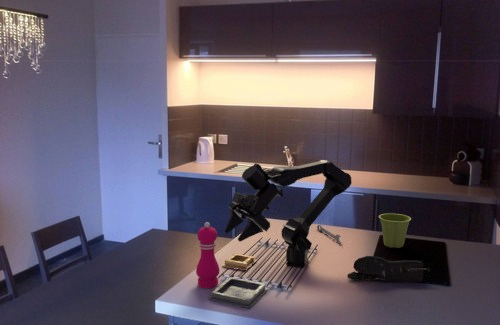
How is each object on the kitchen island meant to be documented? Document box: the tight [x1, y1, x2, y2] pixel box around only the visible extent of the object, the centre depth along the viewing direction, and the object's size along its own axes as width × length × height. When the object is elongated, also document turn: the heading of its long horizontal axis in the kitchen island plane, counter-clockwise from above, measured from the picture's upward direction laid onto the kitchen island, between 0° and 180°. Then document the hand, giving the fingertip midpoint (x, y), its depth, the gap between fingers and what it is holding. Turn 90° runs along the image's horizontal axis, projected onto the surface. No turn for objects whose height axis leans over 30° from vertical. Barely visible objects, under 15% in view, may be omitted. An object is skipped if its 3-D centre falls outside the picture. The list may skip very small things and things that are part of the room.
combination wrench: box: [316, 224, 342, 245], centre depth 184 cm, size 4×1×20 cm
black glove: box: [347, 255, 431, 283], centre depth 143 cm, size 7×25×8 cm, turn 93°
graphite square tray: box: [208, 276, 269, 310], centre depth 132 cm, size 13×13×2 cm
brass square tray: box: [221, 253, 258, 271], centre depth 155 cm, size 9×9×2 cm
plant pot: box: [378, 213, 412, 249], centre depth 173 cm, size 12×12×11 cm
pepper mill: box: [195, 221, 220, 289], centre depth 138 cm, size 7×7×20 cm
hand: (231, 236), depth 142 cm, fingers open, 9 cm apart
